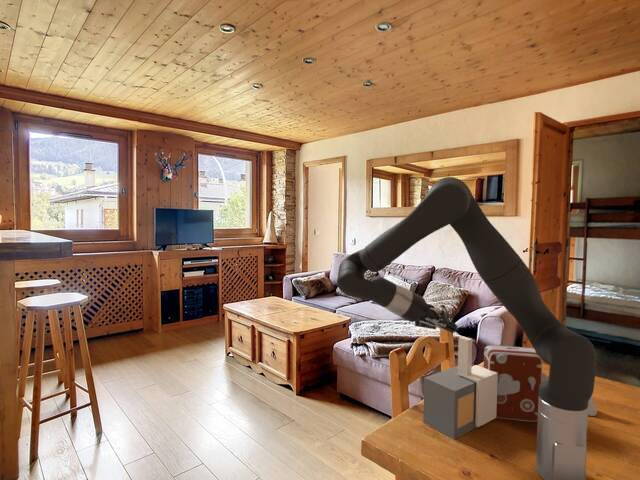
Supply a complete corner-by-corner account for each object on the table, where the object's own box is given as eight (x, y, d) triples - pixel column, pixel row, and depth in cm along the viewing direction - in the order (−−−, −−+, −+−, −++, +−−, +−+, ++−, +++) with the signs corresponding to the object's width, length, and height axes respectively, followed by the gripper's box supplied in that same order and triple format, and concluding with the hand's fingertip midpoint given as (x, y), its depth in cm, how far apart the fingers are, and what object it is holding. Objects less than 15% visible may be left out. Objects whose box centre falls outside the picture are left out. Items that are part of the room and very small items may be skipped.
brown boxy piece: (562, 428, 103) (565, 357, 102) (487, 420, 107) (489, 351, 106) (549, 411, 112) (552, 346, 111) (480, 404, 116) (482, 341, 115)
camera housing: (464, 403, 116) (465, 362, 116) (495, 417, 108) (496, 373, 107) (423, 422, 105) (424, 377, 105) (453, 439, 97) (455, 391, 96)
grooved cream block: (474, 407, 112) (476, 332, 111) (496, 417, 106) (498, 338, 105) (456, 416, 107) (458, 337, 105) (477, 427, 101) (480, 344, 100)
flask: (569, 412, 111) (570, 380, 111) (567, 402, 117) (568, 371, 117) (599, 419, 108) (601, 385, 107) (595, 408, 114) (596, 376, 113)
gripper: (419, 282, 98) (473, 310, 100) (392, 298, 108) (441, 323, 111) (415, 307, 93) (471, 335, 96) (387, 321, 104) (438, 347, 107)
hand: (455, 329), depth 104 cm, fingers closed
